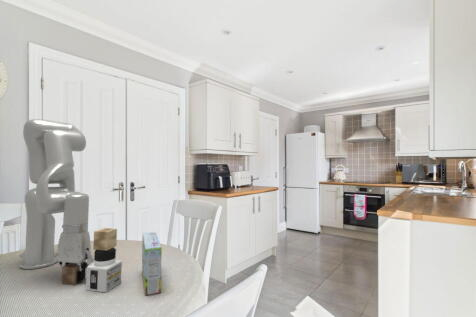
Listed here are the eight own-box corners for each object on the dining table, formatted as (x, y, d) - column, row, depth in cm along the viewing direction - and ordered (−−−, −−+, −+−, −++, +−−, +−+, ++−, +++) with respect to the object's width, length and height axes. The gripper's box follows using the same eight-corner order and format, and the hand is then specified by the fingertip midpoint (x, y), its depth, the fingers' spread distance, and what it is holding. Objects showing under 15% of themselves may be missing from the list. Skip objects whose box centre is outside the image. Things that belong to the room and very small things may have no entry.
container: (106, 293, 82) (107, 252, 82) (85, 290, 83) (87, 250, 84) (121, 282, 89) (122, 245, 90) (102, 280, 91) (103, 243, 91)
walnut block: (61, 283, 88) (62, 266, 88) (73, 277, 93) (74, 261, 93) (74, 285, 87) (74, 267, 87) (85, 279, 92) (85, 262, 92)
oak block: (93, 249, 85) (93, 231, 85) (103, 245, 90) (104, 228, 90) (106, 250, 84) (107, 232, 84) (116, 246, 89) (116, 228, 89)
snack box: (140, 271, 99) (141, 232, 100) (155, 269, 102) (156, 231, 102) (143, 296, 80) (145, 248, 81) (162, 293, 82) (163, 246, 83)
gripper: (45, 229, 88) (43, 282, 88) (88, 232, 85) (86, 287, 85) (64, 224, 96) (62, 273, 95) (104, 227, 93) (102, 278, 92)
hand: (73, 279), depth 90 cm, fingers closed on walnut block, 5 cm apart
